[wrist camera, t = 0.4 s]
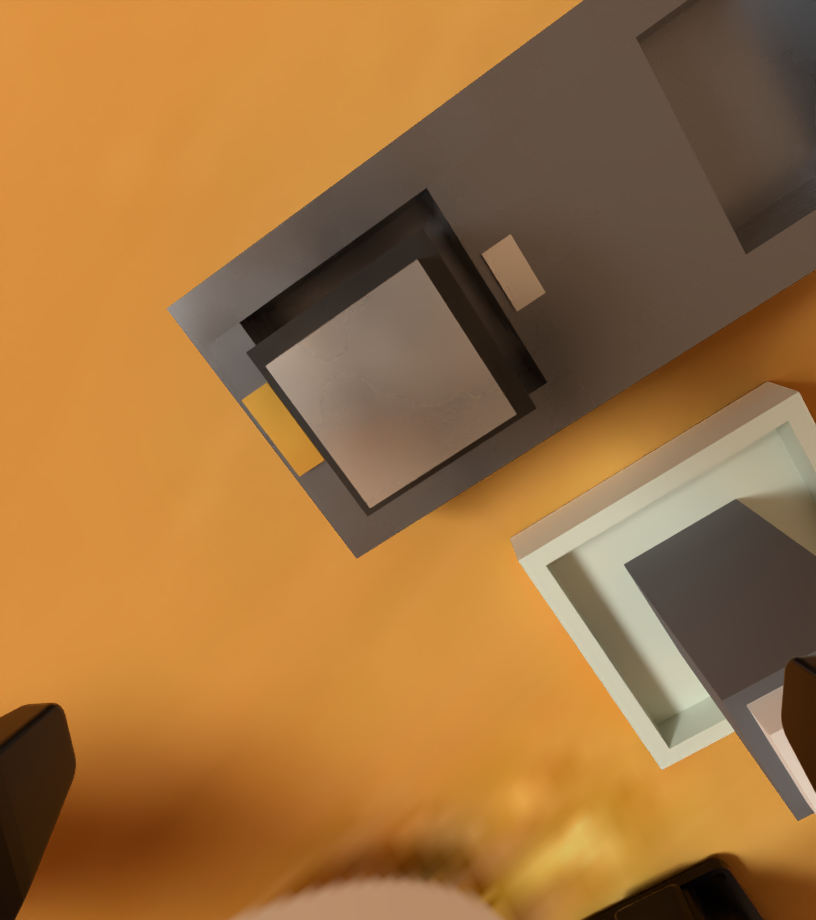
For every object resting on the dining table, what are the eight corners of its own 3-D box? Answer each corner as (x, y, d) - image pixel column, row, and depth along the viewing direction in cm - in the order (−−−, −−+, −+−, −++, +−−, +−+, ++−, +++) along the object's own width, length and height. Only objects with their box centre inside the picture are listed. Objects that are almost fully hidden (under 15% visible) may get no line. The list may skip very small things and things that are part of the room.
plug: (790, 594, 22) (996, 772, 14) (681, 654, 23) (822, 856, 15) (735, 498, 21) (926, 635, 13) (623, 564, 22) (743, 731, 14)
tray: (885, 605, 23) (922, 632, 21) (644, 735, 24) (661, 769, 23) (767, 381, 21) (798, 391, 19) (509, 538, 22) (518, 560, 20)
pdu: (958, 130, 19) (1392, 30, 10) (364, 512, 22) (340, 664, 14) (841, -165, 17) (1259, -570, 9) (206, 300, 20) (68, 329, 12)
